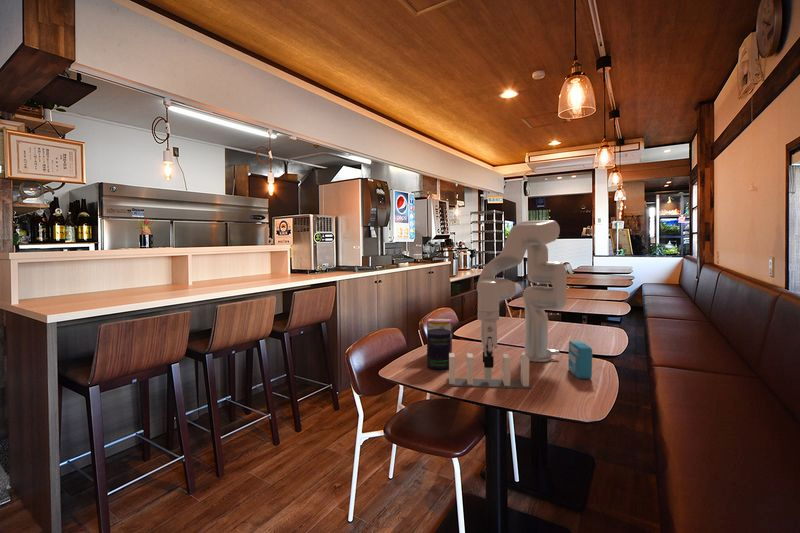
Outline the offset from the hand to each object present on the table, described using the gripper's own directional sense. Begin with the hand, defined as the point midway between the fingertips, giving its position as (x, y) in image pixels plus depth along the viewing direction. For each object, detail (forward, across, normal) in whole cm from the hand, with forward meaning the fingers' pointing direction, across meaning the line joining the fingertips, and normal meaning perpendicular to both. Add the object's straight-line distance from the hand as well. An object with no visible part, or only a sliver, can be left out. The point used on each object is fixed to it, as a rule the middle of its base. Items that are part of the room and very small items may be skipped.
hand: (487, 364), depth 147 cm
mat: (+7, 0, 0) cm, 7 cm away
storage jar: (+7, +17, +18) cm, 26 cm away
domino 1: (+7, 0, +13) cm, 15 cm away
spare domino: (+5, 0, 0) cm, 5 cm away
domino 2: (+7, 0, +6) cm, 9 cm away
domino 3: (+7, 0, -7) cm, 9 cm away
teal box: (+7, +13, -36) cm, 39 cm away
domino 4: (+7, 0, -13) cm, 15 cm away
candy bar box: (+7, +33, +18) cm, 38 cm away
